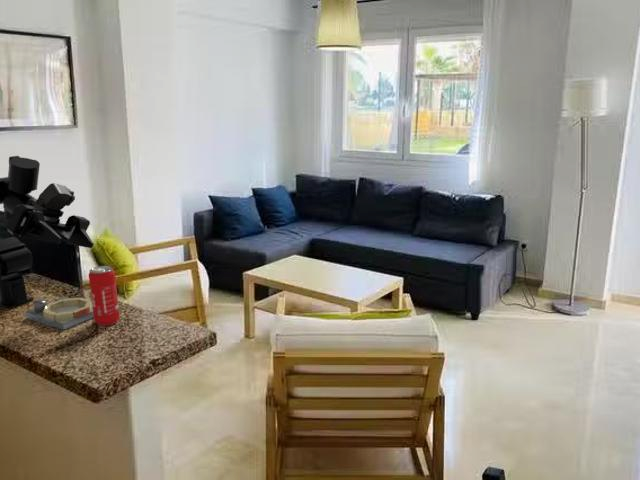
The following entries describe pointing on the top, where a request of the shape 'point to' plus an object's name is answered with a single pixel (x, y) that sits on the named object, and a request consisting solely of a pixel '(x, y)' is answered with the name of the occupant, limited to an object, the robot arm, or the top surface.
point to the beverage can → (104, 295)
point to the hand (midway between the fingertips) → (77, 243)
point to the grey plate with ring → (61, 312)
